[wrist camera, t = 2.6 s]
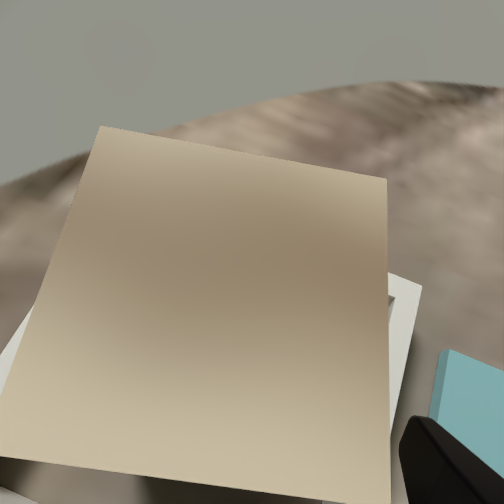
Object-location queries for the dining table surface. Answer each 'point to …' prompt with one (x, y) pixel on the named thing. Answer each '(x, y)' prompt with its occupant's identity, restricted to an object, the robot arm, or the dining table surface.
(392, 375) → the tray
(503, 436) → the teal board
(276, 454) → the birch block
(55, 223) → the dining table surface
